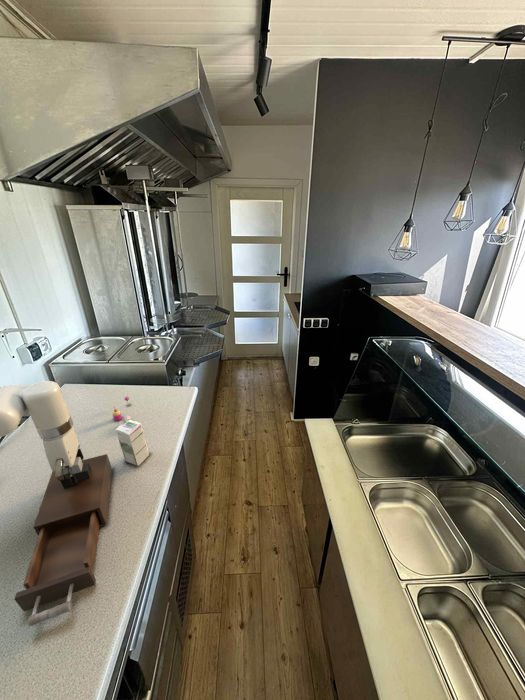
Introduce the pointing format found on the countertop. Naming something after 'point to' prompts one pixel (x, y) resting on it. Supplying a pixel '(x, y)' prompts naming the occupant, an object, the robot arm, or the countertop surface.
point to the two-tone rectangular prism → (79, 469)
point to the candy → (118, 415)
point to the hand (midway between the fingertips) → (74, 472)
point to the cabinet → (77, 495)
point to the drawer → (60, 565)
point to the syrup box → (132, 442)
